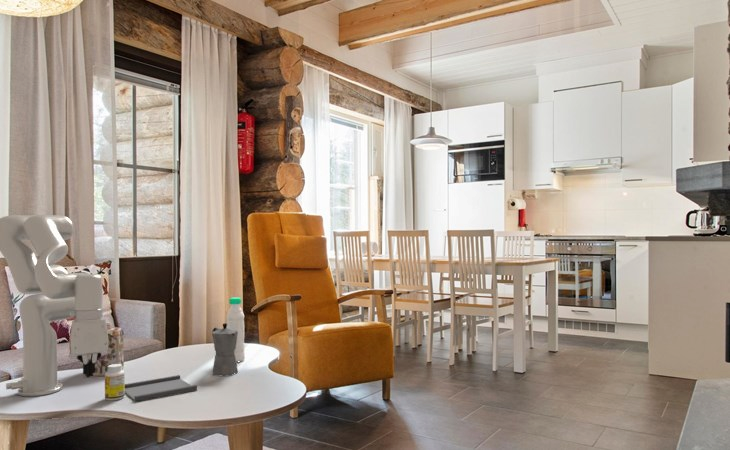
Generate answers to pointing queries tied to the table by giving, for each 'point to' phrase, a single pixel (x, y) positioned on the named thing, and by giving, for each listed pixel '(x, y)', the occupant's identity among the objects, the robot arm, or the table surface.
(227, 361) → the coffeepot
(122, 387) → the supplement bottle
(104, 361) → the decorative jar
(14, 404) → the table surface
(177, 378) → the mat
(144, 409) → the table surface
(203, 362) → the table surface
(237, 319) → the water bottle
